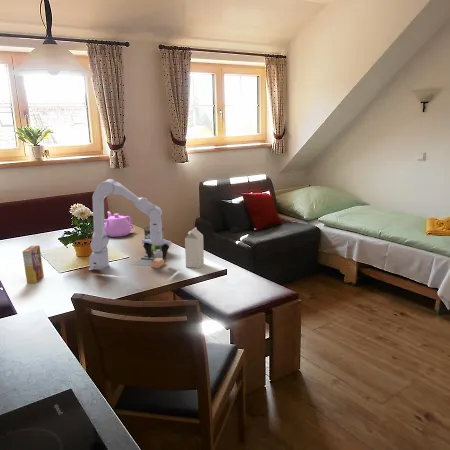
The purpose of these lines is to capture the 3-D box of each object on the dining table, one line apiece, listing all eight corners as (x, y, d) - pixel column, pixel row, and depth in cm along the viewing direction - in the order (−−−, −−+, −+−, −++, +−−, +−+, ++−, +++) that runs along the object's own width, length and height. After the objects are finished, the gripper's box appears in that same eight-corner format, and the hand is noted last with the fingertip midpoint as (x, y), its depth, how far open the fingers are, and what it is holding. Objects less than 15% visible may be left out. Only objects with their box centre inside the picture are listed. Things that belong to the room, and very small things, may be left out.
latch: (158, 262, 213) (158, 252, 212) (151, 261, 214) (151, 251, 213) (163, 258, 218) (163, 248, 217) (156, 257, 219) (156, 248, 218)
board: (149, 268, 207) (149, 265, 206) (132, 266, 209) (132, 263, 209) (162, 258, 221) (161, 256, 221) (145, 257, 223) (145, 254, 223)
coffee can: (159, 257, 224) (158, 231, 221) (141, 255, 227) (140, 230, 224) (167, 251, 234) (166, 227, 230) (150, 250, 237) (149, 225, 233)
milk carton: (203, 264, 213) (203, 227, 208) (199, 268, 206) (198, 230, 201) (190, 262, 214) (189, 226, 210) (185, 267, 208) (184, 230, 203)
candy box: (34, 276, 196) (31, 245, 192) (44, 276, 196) (40, 245, 192) (26, 283, 187) (21, 250, 184) (35, 283, 187) (31, 250, 184)
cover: (158, 270, 204) (158, 262, 203) (151, 269, 205) (150, 261, 204) (164, 265, 211) (164, 258, 210) (157, 265, 212) (156, 257, 211)
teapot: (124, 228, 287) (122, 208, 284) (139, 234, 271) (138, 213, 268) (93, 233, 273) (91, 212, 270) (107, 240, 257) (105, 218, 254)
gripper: (173, 230, 206) (173, 257, 209) (145, 228, 209) (147, 254, 212) (167, 234, 199) (168, 261, 202) (139, 232, 203) (140, 259, 206)
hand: (157, 258), depth 207 cm, fingers open, 7 cm apart
